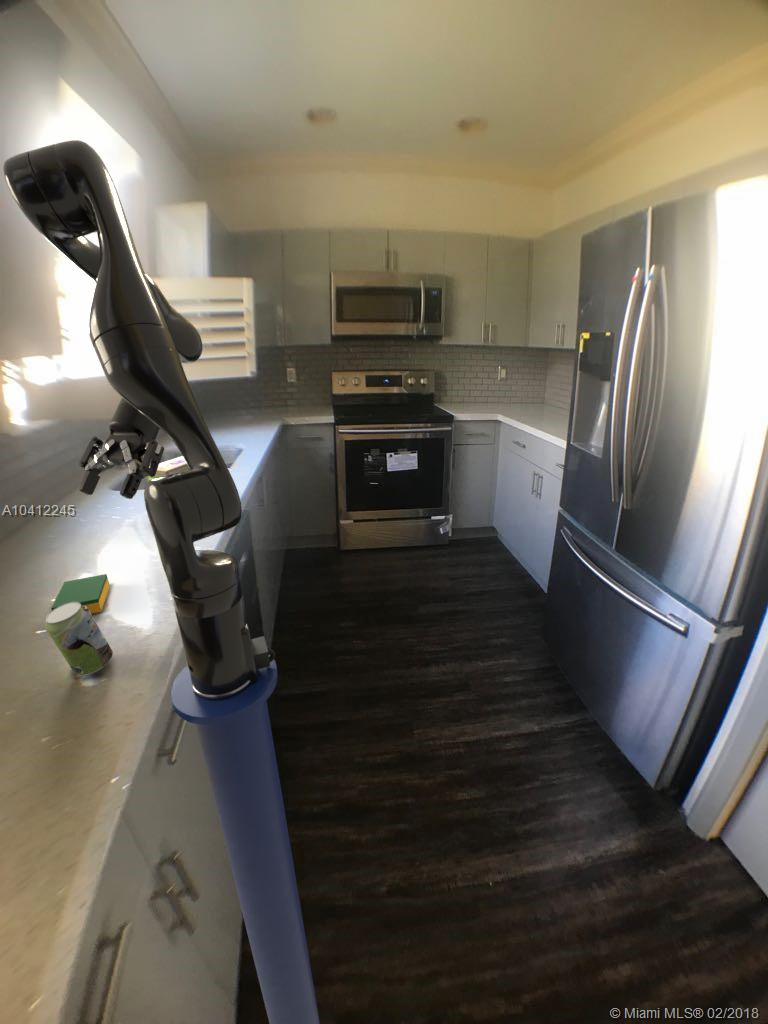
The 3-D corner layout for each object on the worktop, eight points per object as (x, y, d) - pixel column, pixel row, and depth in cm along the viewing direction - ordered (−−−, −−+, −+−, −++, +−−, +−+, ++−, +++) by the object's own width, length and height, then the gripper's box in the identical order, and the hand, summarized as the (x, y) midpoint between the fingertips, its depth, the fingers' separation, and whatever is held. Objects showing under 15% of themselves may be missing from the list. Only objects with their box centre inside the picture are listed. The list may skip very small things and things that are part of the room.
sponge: (109, 585, 102) (106, 573, 101) (101, 611, 92) (97, 598, 91) (68, 593, 99) (64, 581, 98) (55, 621, 89) (50, 608, 88)
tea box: (191, 497, 155) (182, 454, 150) (213, 500, 151) (205, 457, 146) (153, 512, 143) (142, 467, 137) (176, 517, 139) (165, 470, 133)
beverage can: (122, 662, 78) (103, 601, 73) (75, 689, 72) (52, 625, 68) (103, 649, 81) (84, 591, 76) (57, 674, 75) (34, 613, 71)
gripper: (93, 400, 81) (53, 482, 75) (159, 401, 77) (122, 488, 71) (124, 424, 88) (89, 501, 82) (186, 426, 84) (155, 507, 78)
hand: (105, 495), depth 76 cm, fingers open, 8 cm apart
